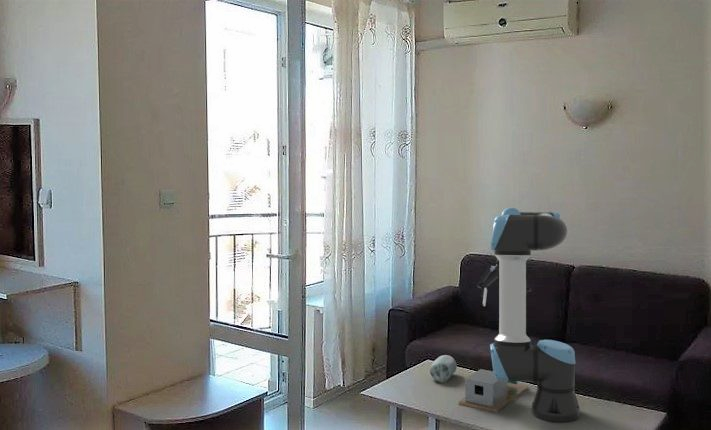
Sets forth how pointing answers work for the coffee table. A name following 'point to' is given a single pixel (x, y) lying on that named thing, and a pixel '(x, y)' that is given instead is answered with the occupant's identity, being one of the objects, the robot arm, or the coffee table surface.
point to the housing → (489, 391)
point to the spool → (443, 368)
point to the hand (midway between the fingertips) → (502, 306)
